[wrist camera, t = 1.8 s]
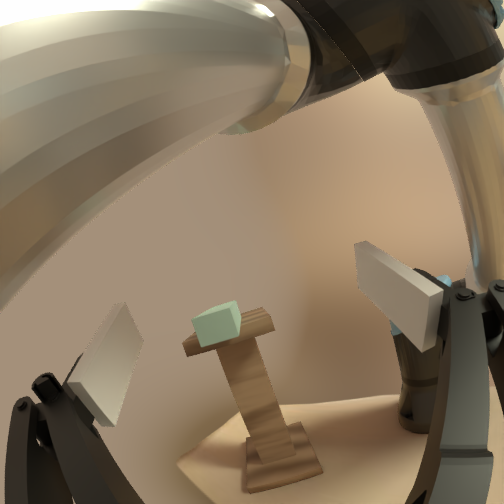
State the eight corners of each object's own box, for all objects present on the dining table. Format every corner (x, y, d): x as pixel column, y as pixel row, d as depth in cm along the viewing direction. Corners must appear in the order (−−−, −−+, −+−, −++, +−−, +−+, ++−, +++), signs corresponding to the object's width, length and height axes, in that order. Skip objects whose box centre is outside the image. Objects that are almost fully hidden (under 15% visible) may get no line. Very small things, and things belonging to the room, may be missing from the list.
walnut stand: (323, 472, 31) (270, 315, 35) (250, 493, 30) (182, 342, 34) (302, 426, 49) (261, 307, 52) (248, 442, 48) (202, 325, 52)
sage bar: (239, 336, 26) (229, 307, 27) (201, 347, 26) (191, 319, 26) (241, 317, 45) (235, 300, 46) (218, 324, 45) (212, 307, 45)
